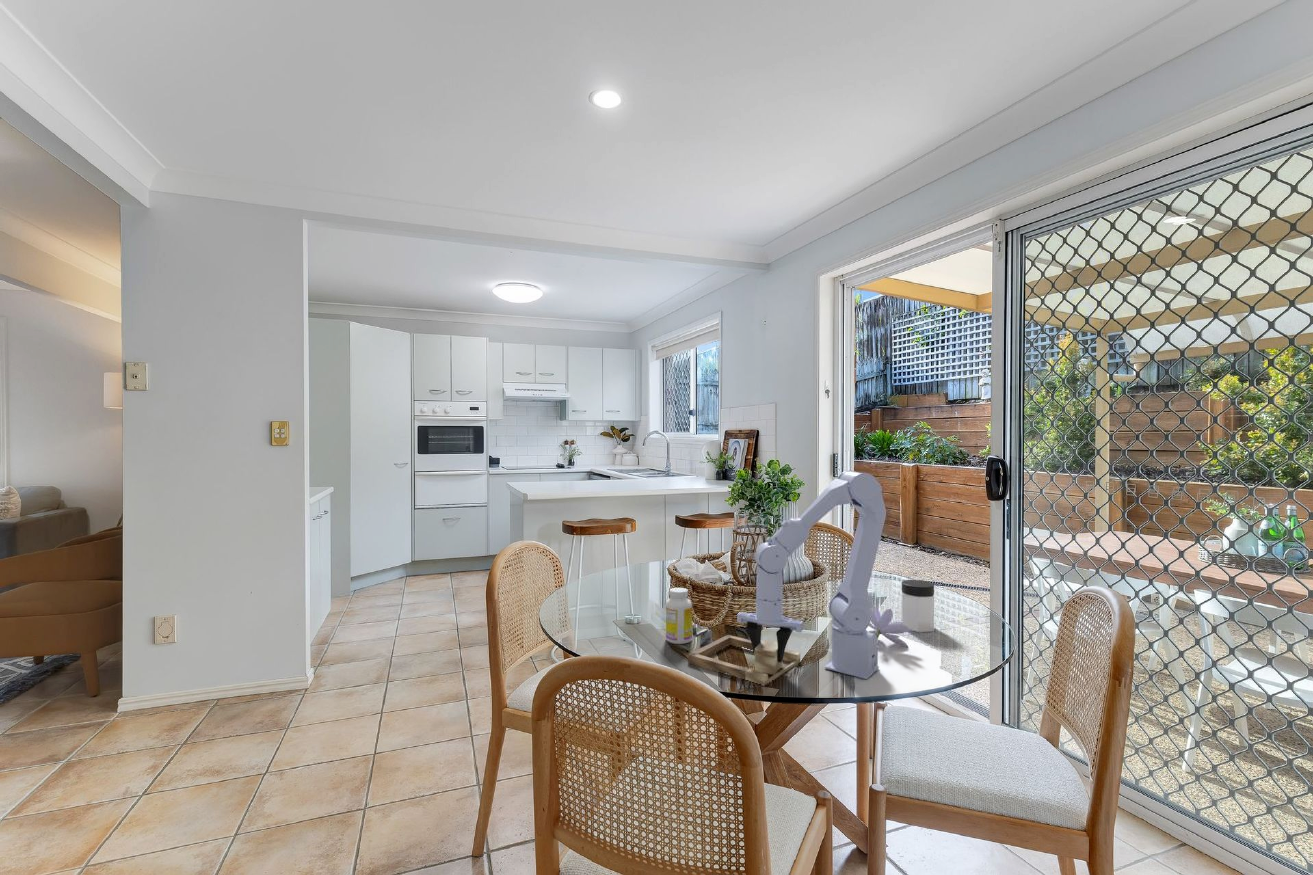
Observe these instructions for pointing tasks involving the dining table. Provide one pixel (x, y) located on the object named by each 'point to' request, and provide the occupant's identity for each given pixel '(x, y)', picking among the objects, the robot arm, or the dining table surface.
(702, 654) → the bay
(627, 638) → the dining table surface
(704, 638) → the winch
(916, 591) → the jar
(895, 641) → the water lily
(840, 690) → the dining table surface
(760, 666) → the beige cube
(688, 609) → the supplement bottle
